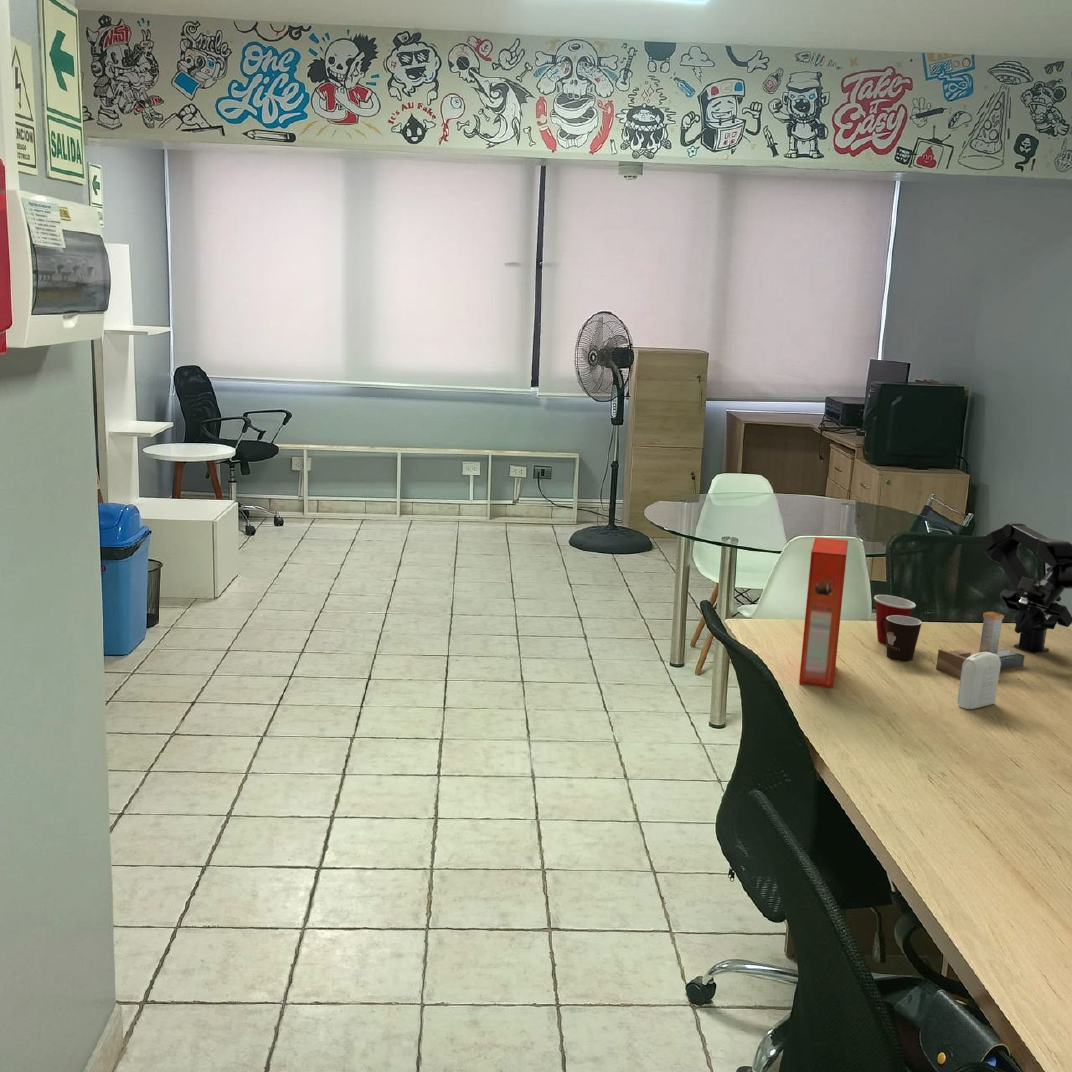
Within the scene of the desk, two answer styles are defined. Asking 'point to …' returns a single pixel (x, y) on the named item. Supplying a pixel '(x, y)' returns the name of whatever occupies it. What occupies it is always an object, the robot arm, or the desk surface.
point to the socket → (952, 661)
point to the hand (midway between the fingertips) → (1016, 631)
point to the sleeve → (1011, 661)
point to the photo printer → (979, 680)
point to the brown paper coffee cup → (901, 636)
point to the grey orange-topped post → (993, 635)
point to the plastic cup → (890, 611)
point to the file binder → (823, 612)
